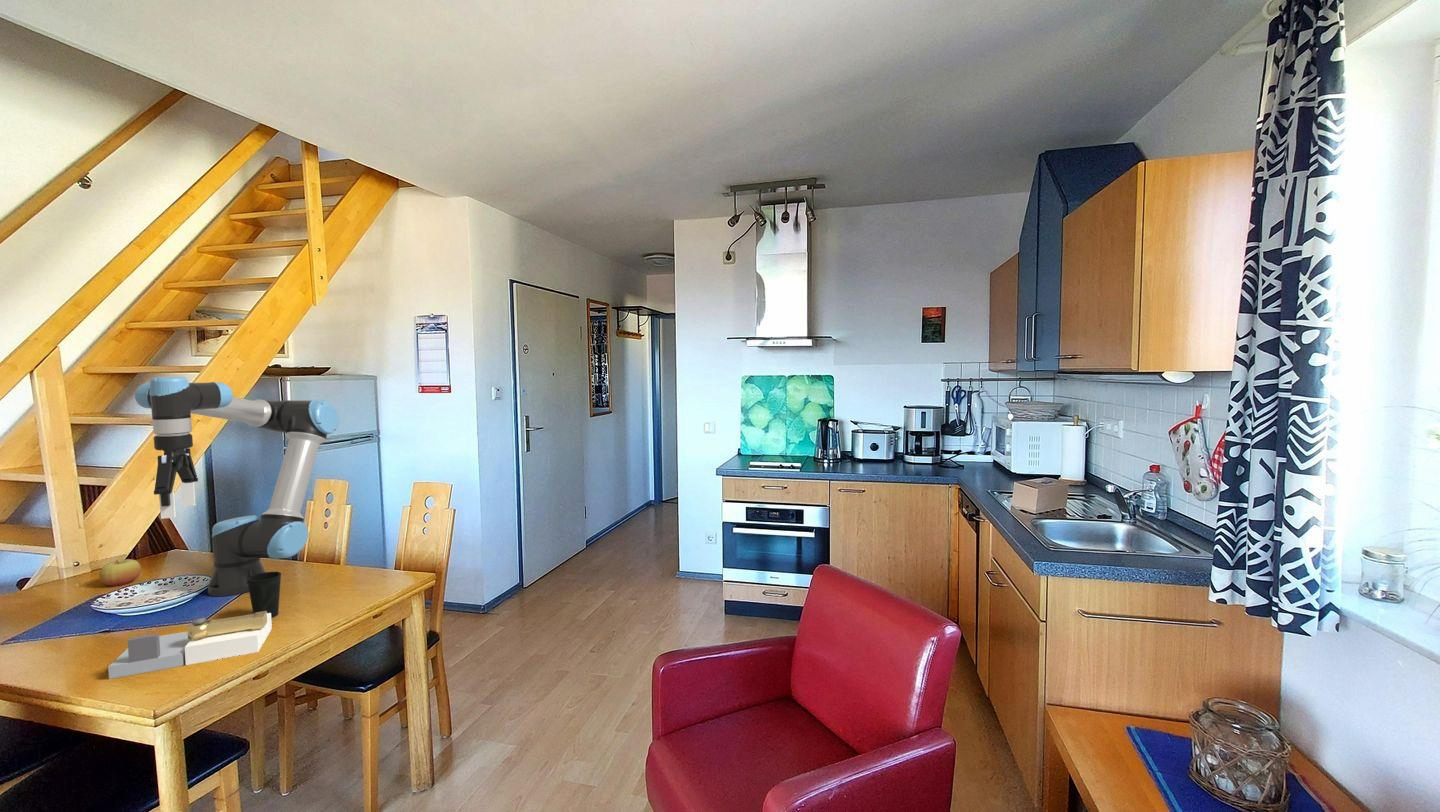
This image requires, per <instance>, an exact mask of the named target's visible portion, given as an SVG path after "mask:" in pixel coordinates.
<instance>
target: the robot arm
mask: <svg viewBox="0 0 1440 812" xmlns="http://www.w3.org/2000/svg"><path fill="white" fill-rule="evenodd" d="M233 395H234V394H233V390H232V388H231V387H230V386H229V385H228V384H226V383H224V382H219V381H218V382H217V381H210V382H189V379H188V378H187V377H186V376H158V377H157V376H155V377H153V378H151V379H150V381H149V382H146V383H142V384H140V385H139V386H138V387H137V389H136V390H135V393H134V399H135V401H136V403H137V404H138V405H139V407H142V408H145V409H150V410H151V418H152V422H150V424H149V425H150V426H151V427H152V429H153V431H152V432H153V434H154V435H155V436H154V437H153V445H154V446H153V447H154V449H155V450H156V451H163V454H162V455H158V456H157V467H156V468H157V470H156V476H155V484H154V491H153V495H158V496H159V497H158V498H159V508H160V509H159V510H160V519H161V520H163V519H172V518H173V519H175V518H176V517H177V513H176V502H175V492H173V488H174V485H175V482H176V481H175V480H176V476H177V475H178V477H179V478H180V481H181V482H182V483H180V496H181V507H194V506H197V505H196V493H195V483H197V482H198V481H199V478H198V475H197V472H196V468H195V464H194V462H193V461H194V460H193V458H192V455H191V448H193V446H194V442H193V441H194V439H193V435H192V434H191V433H192V432H193V425H192V414H193V415H199V416H205V417H210V418H211V417H212V418H217V419H223V420H227V421H228V420H229V421H235V422H241V423H244V424H247V425H248V426H249V427H252V428H257V429H263V430H266V431H267V430H268V431H272V432H276V433H285V436H286V438H287V439H288V440H289V441H288V444H287V447H286V450H285V453H284V457H283V459H282V464H281V468H280V470H279V473H278V477H277V480H276V483H275V487H274V491H273V494H272V497H271V500H270V504H269V508H268V509H266V511H264V512H263V513H261V515H260V517H259V516H258V515H255V514H253V515H245V516H237V517H233V518H230V519H225V520H221V521H218V522H217V523H215V524H214V525H213V526H212V529H211V530H212V531H211V532H212V534H211V544H212V557H213V571H212V574H211V577H210V580H209V582H208V586H207V594H208V595H210V596H212V597H227V596H235V595H241V594H246V593H249V587H248V581H247V579H248V578H249V577H251V576H253V575H256V574H260V573H265V572H266V569H265V567H264V566H263V563H262V562H261V559H275V560H278V559H288V558H291V557H294V556H296V555H297V554H298V553H300V552H301V551H302V549H304V547H305V546H306V544H307V541H308V538H309V533H310V532H309V530H308V529H309V528H308V526H307V524H306V523H304V520H305V517H304V516H303V515H302V514H301V511H302V507H303V505H304V504H303V503H304V500H305V496H306V493H307V489H308V486H309V483H310V482H309V481H310V479H311V475H312V472H313V468H314V465H315V461H316V457H317V454H318V449H319V446H320V445H321V444H323V443H325V442H326V441H327V437H328V435H330V434H333V433H335V431H337V429H338V427H339V425H340V424H339V423H340V419H339V418H340V417H339V413H338V411H337V409H336V407H335V406H334V404H332V403H331V402H329V401H327V400H326V401H325V400H317V399H313V400H289V399H288V400H266V399H259V398H257V399H253V400H251V399H246V398H240V397H237V396H233Z"/></svg>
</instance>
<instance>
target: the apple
mask: <svg viewBox="0 0 1440 812" xmlns="http://www.w3.org/2000/svg"><path fill="white" fill-rule="evenodd" d="M141 573H142V566H141V564H140V562H139V561H137V560H135V559H131V558H130V559H129V558H127V559H121V560H115V561H112V562H109V563H107V564H105V565H103V566H102V567H101V569H100V571H99V573H98V578H99V580H100V581H101V582H102V583H103V584H105V585H106V586H108V587H110V586H112V587H114V586H115V587H116V586H122V585H127V584H129V583H132V582H133V581H135V580H137V578H138V577H139V576H140V574H141Z"/></svg>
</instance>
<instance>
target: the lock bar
mask: <svg viewBox="0 0 1440 812" xmlns="http://www.w3.org/2000/svg"><path fill="white" fill-rule="evenodd" d="M266 623H267V611H262V612H256V613H255V614H253V613H250V614H244V615H238V616H231V617H226V618H218V619H213V620H212V619H211V620H209V619H208V620H207V619H205V622H204V623H202V624H198V625H193V624H192V622H191V623H190V624H188V625H187V626H186V630H187V631H186V632H187V633H188V639H190V640H194V639H200V638H204V637H206V636H210V635H216V634H222V633H228V632H234V631H241V630H247V629H252V630H253V629H259V628H264V626H265V625H266Z"/></svg>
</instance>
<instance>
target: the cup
mask: <svg viewBox="0 0 1440 812" xmlns="http://www.w3.org/2000/svg"><path fill="white" fill-rule="evenodd" d="M281 578H282V573H281V572H279V571H267V572H265V573H260V574H256V575H253V576H251V577H249V578H248V579H247V581H248V587H249V592H248V593H249V598H250V604H251V609H252V614H255V613H256V612H262V611H267V613H271V619H272V618H275V617H277V616H278V615H279V609H280V596H281V595H280V591H281V582H282V581H281Z"/></svg>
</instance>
